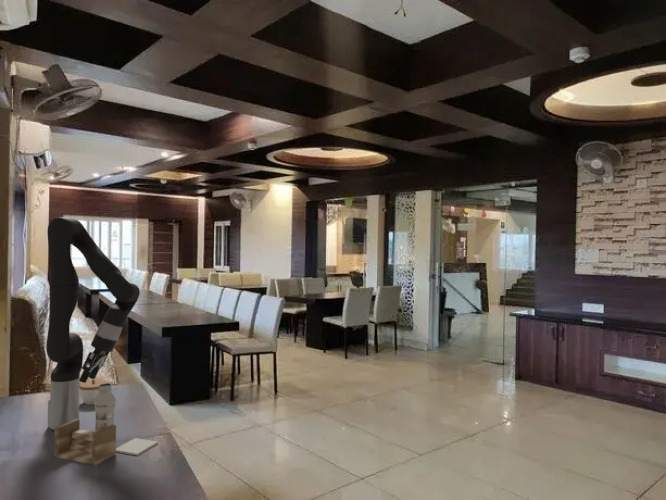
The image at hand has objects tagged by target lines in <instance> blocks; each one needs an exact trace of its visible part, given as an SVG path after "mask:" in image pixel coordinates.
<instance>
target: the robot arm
mask: <svg viewBox="0 0 666 500" xmlns="http://www.w3.org/2000/svg"><path fill="white" fill-rule="evenodd" d="M46 232H47V242H48V253H49V296H48V297H49V307H48V308H49V313H48V314H49V315H48V318H49V319H48V327H47V328H48V329H47V336H46V344H45V346H46V348H45V349H46V355H47V356H48V358H49V360H51V361H52V362H53V363H56V366H55V367H54V368H53V369H52V371H51V373H50V393H49V394H50V397H49V398H50V399H49V400H47V401H48V402H47V428H49V429H50V430H52V431H55V427H57V426H60V425H62V424H65V423H67V422H69V421H72V420H74V419H79V420H80V394H79V385H80V384H81V383H85V382H87V381H88V379H90V380H91V379H92V380H96V378H97V375H98V373H99V371H100V370H101V369H102V367H104V365H105V362H106V360H107V358H108V356H109V354H110V353H112V352H113V351H114V349H115V347H116V344H117V342H118V340H119V338H120V336H121V333H122V330H123V328H124V325H125V324H126V323H125V322H126V321H127V318H128V316H129V314H130V313H131V311H132V310H133V308H134V307H135V305H136V304H137V302H138V299H139V297H140V293H141V291H140V288H139V286H138V285H136V284H135V283H131V282H129V281H128V280H127V279H126V277H124V275H122V271H121V270H120V269H119V268H118V267H117V265H116V264H115V263H114V262H112V261H111V259H109V258H108V257H107V256H106V253H104V252H103V251H102V250H101V248H100V247H99V246H98V245H97V244H96V242H95V240H94V239H93V238H92V236H91V235H90V233H89V232H88V231H87V228H85V226H84V224H82V223H81V221H79V219H76V218H72V217H63V216H58V217H57V216H56V217H54V218H53V219H51V220H50V222H49V223H48V226H47V231H46ZM71 245H72V246H73V247H75V248H76V249H77V250H78V251H79V252H80V253H81V254H82V256H83V257H84V259H85V260H86V263H87V265H88V267H89V269H90V271H91V272H92V273H93V274H94V275H95V276H96V277H97V279H99V280H100V281H101V282H102V283H103V284H104V285H105V287H106V288H107V290H109V293H110V294H111V295H112V296H113V297H114V298H115V301H114V303H113V304H112V305H111V306H110V307H108V309H107V311H106V312H105V315H104V317H103V319H102V321H101V322H100V324H99V326H98V328H97V330H96V332H95V335H94V337H93V339H92V340H91V341H92V342H91V343H90V345H91V347H93V348H94V350H93V351H92V352H91V351H90V352H88V354H87V356H86V358H85V361H84V362H83V360H84V342H83V340H82V338H81V337H80V335H79V334H77V333H75V332H70V328H71V327H70V325H71V319H72V316H73V313H74V312H75V309H76V306H77V304H78V301H79V297H80V296H79V295H80V291H79V290H80V280H79V276H78V272H77V270H76V268H75V266H74V264H73V261H72V258H71V257H72V256H71V250H72V248H71ZM82 370H83V371H82ZM81 371H82V372H81Z"/></svg>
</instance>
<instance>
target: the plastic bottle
mask: <svg viewBox="0 0 666 500" xmlns="http://www.w3.org/2000/svg"><path fill="white" fill-rule="evenodd" d="M112 389H113V388H112V384H111V383H108V384H101V385H99V394H98V395H97V397H96V398H95V400H94V404H93V405H94V415H95V426H94V432H97V431H99V430H101V429H103V428H106V427H108V426H110V425H115V422H114V421H115V420H114V417H115V408H116V402H117V401H116V397H115V395H114V394H113V392H112Z"/></svg>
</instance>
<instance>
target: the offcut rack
mask: <svg viewBox="0 0 666 500" xmlns="http://www.w3.org/2000/svg"><path fill="white" fill-rule="evenodd" d="M116 443H117V425H116V424H114V425H110V426H108V427H106V428H103V429H101V430H99V431H97V432H95V431H92V430H85V429H81V428H80V418H79V419H74V420H72V421H69V422H67V423H65V424H62V425H60V426H57V427H55V430H54V451H53V453H54V458H58V459H63V460H67V461H73V462H77V463H83V464H89V465H94V466H97V465H99V464H101V463H103V462H104V461H106V460H108V459H111V457H114V456H115V455H117V454H116V453H117V452H116V448H117V444H116Z"/></svg>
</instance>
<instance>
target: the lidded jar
mask: <svg viewBox="0 0 666 500" xmlns="http://www.w3.org/2000/svg"><path fill="white" fill-rule="evenodd" d="M101 384H109V383H108V381H106V380H100V379H99V380H98V379H97V380H96V379H92V380H87V381H86V382H85V383H83V382H80V384H79V399H81V401H82V402H84V404H85V405H89V406H90V404H91V405H94V400H95V398H96V397H97V395H98V394H99V385H101Z"/></svg>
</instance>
